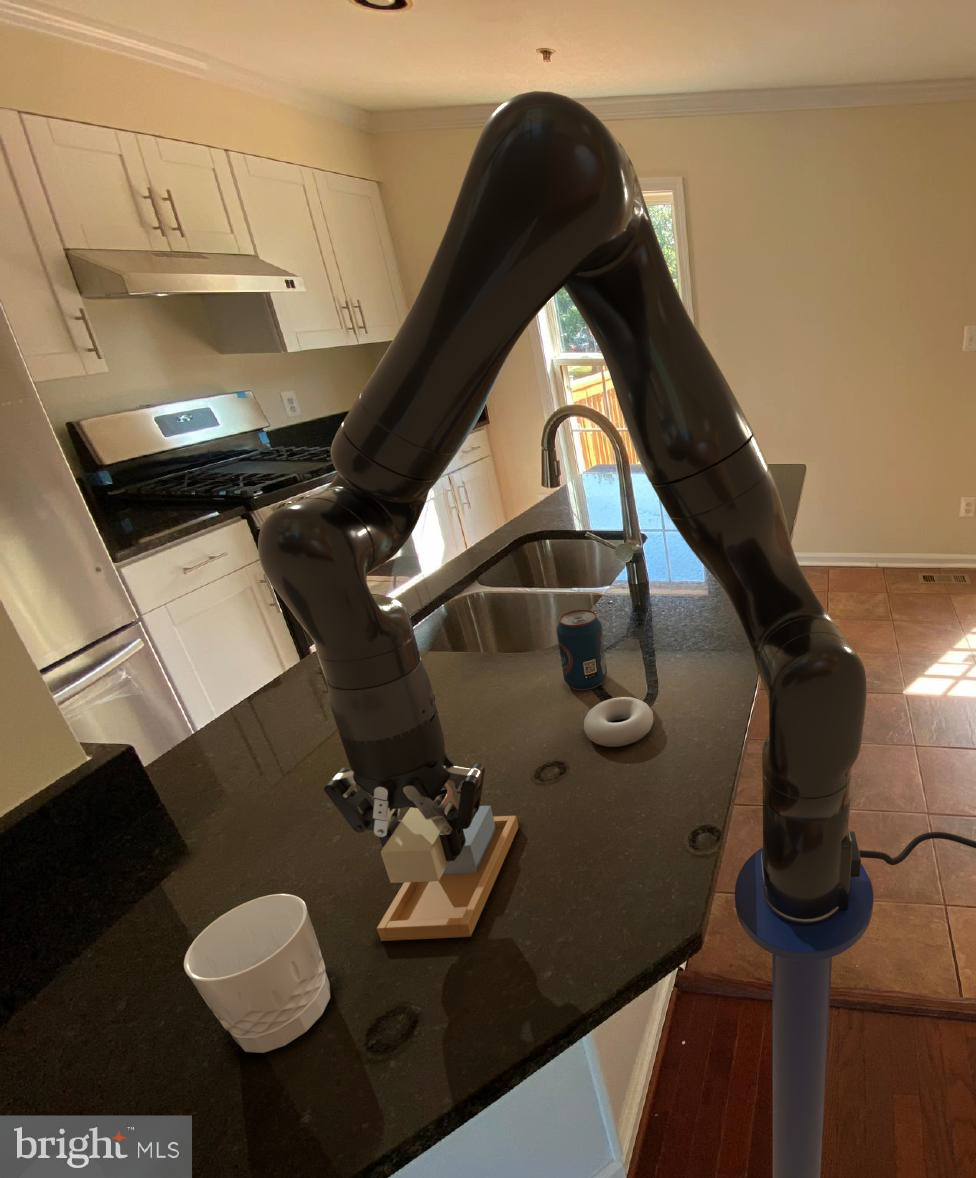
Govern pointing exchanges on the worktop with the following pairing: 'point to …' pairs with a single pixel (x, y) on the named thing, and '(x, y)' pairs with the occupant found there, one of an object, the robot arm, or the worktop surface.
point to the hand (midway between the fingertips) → (428, 854)
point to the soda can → (581, 649)
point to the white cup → (261, 971)
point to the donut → (622, 732)
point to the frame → (448, 896)
